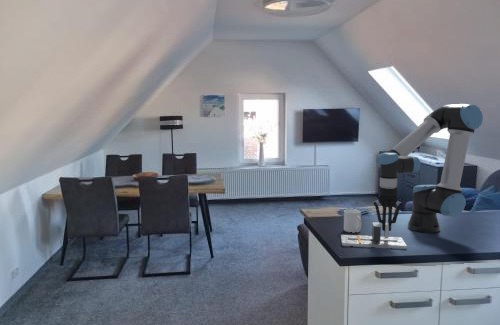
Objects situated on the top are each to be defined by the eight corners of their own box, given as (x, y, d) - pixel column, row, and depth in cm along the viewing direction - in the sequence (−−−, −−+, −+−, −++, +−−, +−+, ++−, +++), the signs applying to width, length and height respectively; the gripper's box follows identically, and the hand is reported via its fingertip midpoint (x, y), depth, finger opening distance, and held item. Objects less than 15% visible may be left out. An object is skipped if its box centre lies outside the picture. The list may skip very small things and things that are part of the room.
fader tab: (378, 237, 195) (379, 222, 194) (380, 241, 189) (380, 226, 188) (371, 237, 196) (372, 222, 195) (373, 241, 190) (373, 225, 189)
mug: (367, 234, 207) (368, 214, 206) (353, 235, 205) (353, 215, 204) (354, 227, 219) (355, 208, 218) (340, 229, 216) (341, 209, 215)
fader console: (401, 240, 197) (401, 236, 197) (406, 249, 184) (406, 245, 184) (340, 237, 202) (340, 234, 202) (342, 246, 189) (342, 242, 189)
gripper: (401, 185, 191) (399, 235, 194) (372, 185, 194) (370, 234, 196) (404, 188, 184) (402, 240, 187) (374, 188, 186) (372, 239, 189)
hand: (386, 237), depth 192 cm, fingers closed
